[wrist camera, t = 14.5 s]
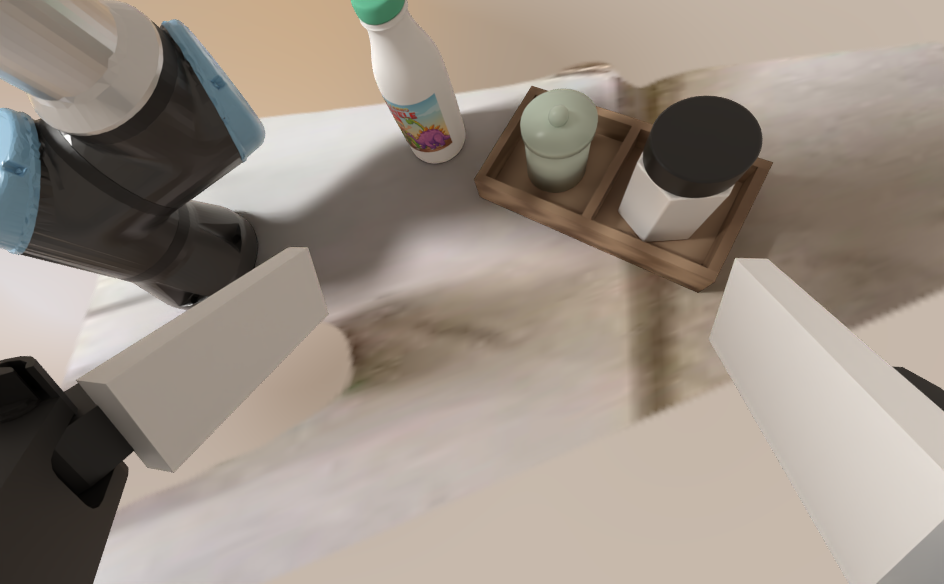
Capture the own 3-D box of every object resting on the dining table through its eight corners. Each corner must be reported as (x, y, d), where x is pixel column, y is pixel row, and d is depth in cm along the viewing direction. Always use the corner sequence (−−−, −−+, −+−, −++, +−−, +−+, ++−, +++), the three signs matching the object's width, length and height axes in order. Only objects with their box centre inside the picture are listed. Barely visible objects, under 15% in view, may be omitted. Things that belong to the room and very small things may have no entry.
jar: (721, 219, 39) (794, 148, 27) (654, 259, 39) (699, 205, 27) (666, 160, 41) (711, 73, 30) (604, 198, 42) (626, 126, 30)
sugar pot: (513, 181, 45) (505, 127, 35) (543, 131, 46) (542, 67, 36) (570, 204, 42) (577, 153, 33) (600, 152, 43) (614, 88, 34)
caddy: (479, 196, 46) (473, 179, 42) (532, 109, 48) (531, 85, 44) (697, 292, 38) (714, 281, 34) (751, 184, 40) (773, 162, 36)
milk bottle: (430, 110, 51) (361, -55, 32) (477, 126, 49) (433, -41, 30) (402, 154, 50) (315, 11, 31) (449, 173, 48) (385, 31, 29)
